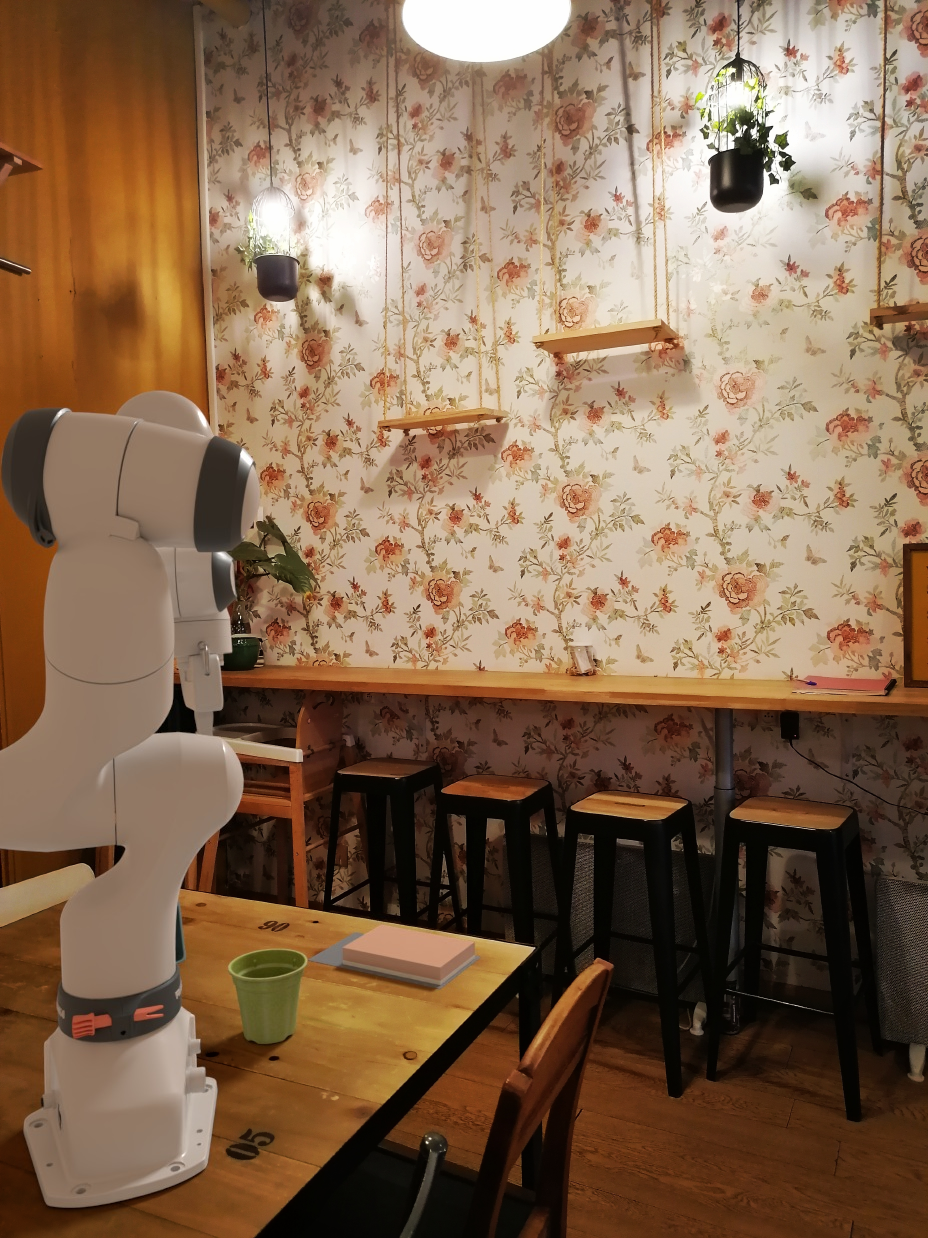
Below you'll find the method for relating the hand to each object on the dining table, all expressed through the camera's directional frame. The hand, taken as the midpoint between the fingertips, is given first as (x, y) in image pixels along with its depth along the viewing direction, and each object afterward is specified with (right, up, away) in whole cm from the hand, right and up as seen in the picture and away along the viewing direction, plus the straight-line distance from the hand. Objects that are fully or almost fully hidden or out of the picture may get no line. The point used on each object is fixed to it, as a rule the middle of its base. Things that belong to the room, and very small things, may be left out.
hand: (205, 742), depth 130 cm
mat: (+26, -32, +4) cm, 42 cm away
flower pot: (-15, -30, +7) cm, 34 cm away
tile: (+21, -31, +7) cm, 38 cm away
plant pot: (+12, -33, -17) cm, 39 cm away
